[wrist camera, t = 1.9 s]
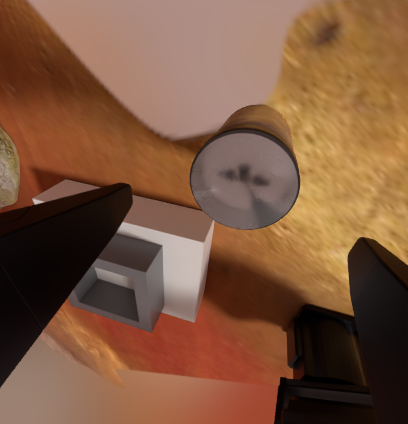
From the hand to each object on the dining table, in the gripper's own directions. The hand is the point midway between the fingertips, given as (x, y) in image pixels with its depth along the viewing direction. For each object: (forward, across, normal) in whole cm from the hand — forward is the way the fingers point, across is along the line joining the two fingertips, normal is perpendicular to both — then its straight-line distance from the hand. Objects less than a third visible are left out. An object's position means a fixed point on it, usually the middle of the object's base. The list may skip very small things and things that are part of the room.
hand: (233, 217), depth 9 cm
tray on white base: (+9, +10, +13) cm, 19 cm away
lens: (+9, 0, 0) cm, 9 cm away
